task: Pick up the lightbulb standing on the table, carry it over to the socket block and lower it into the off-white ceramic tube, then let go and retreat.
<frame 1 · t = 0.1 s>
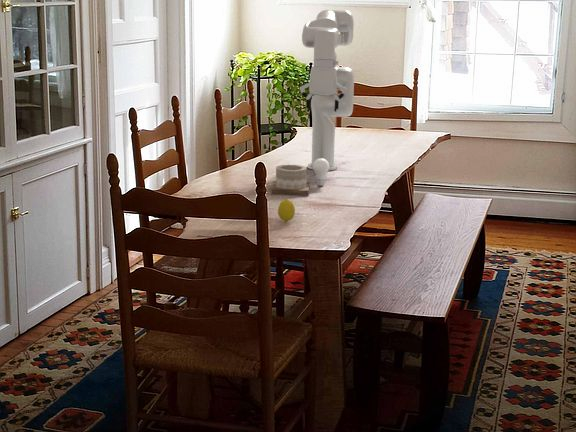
hand: (322, 110, 342), 31 cm above the table, tool pointing down, fingers open, 9 cm apart
lightbulb: (320, 186, 361), on the table
socket: (290, 191, 351), on the table
lemon: (286, 223, 308), on the table
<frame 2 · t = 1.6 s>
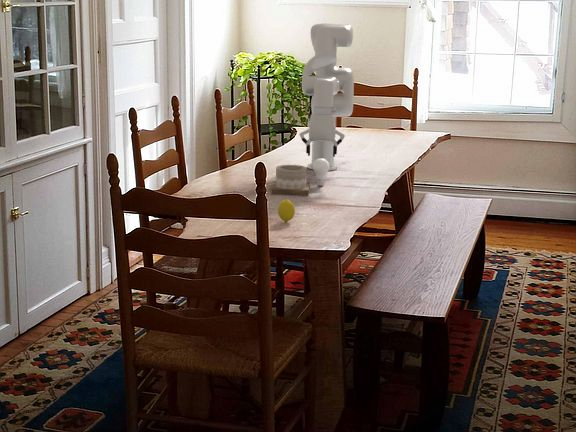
hand: (321, 155, 357), 12 cm above the table, tool pointing down, fingers open, 9 cm apart
nothing on the table moved.
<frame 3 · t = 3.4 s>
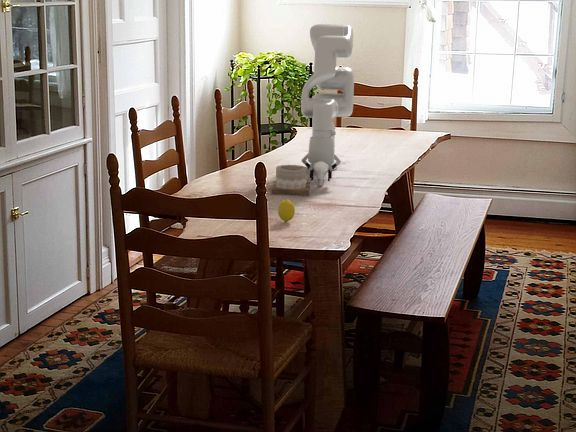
hand: (320, 179, 360), 3 cm above the table, tool pointing down, fingers closed on lightbulb, 5 cm apart
lightbulb: (320, 186, 361), on the table, touching gripper
everything else where it was.
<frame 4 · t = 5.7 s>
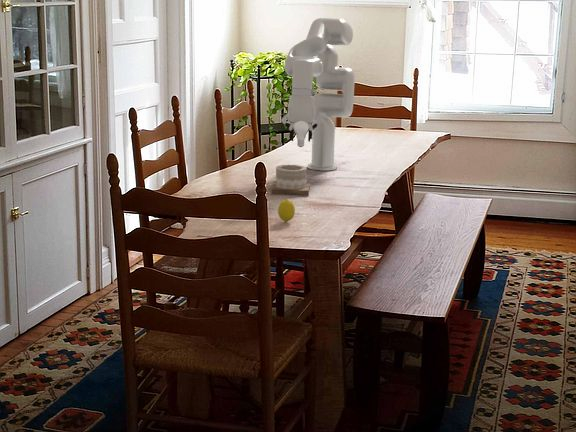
hand: (300, 140, 349), 19 cm above the table, tool pointing down, fingers closed on lightbulb, 5 cm apart
lightbulb: (300, 147, 349), point 16 cm above the table, touching gripper
everything else where it was.
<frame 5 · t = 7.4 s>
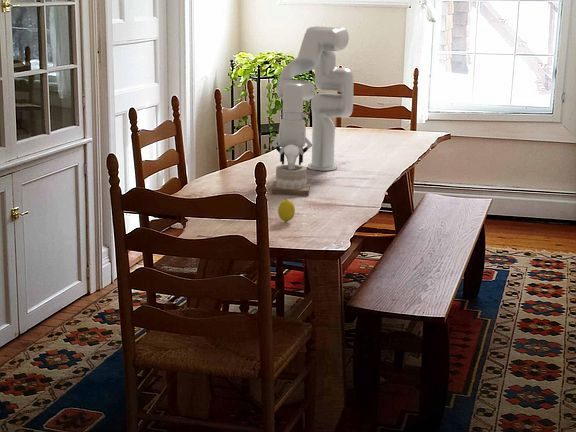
hand: (291, 163, 349), 11 cm above the table, tool pointing down, fingers closed on lightbulb, 5 cm apart
lightbulb: (291, 170, 349), point 8 cm above the table, touching gripper
everything else where it was.
when the fingers open (10 cm above the table, at t = 8.4 s): lightbulb drops 5 cm, resting on socket.
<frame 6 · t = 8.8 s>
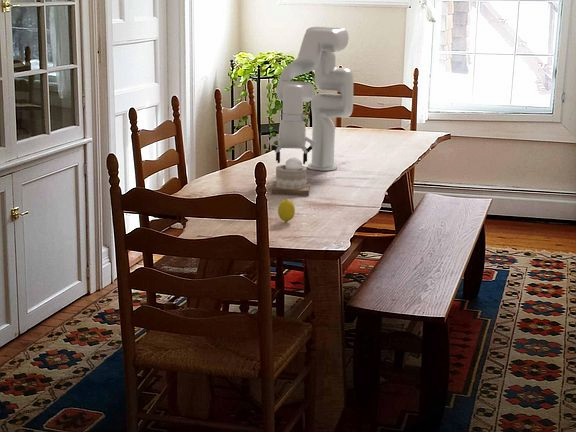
hand: (291, 163, 349), 11 cm above the table, tool pointing down, fingers open, 9 cm apart
lightbulb: (284, 184, 351), point 2 cm above the table, touching socket
everything else where it was.
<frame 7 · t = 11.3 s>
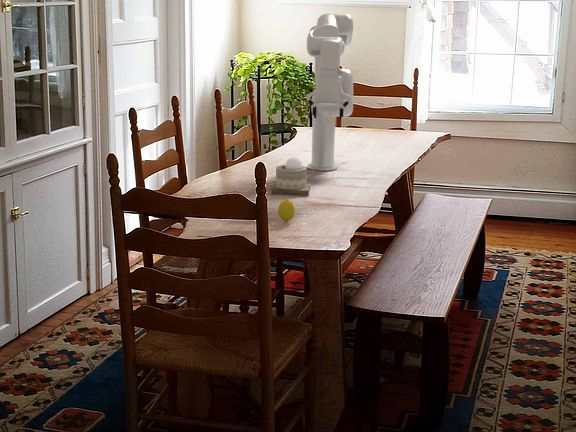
hand: (327, 117, 353), 27 cm above the table, tool pointing down, fingers open, 9 cm apart
nothing on the table moved.
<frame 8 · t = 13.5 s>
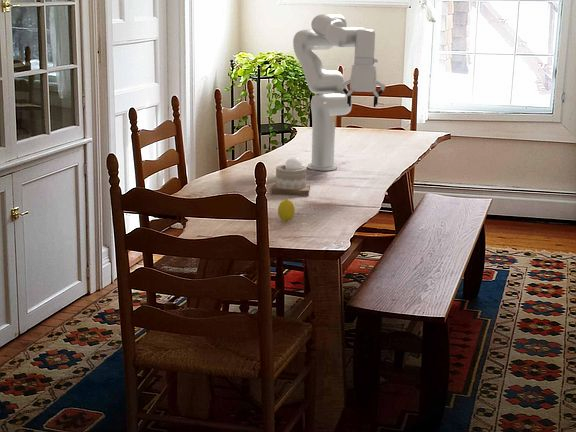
hand: (362, 106, 361), 30 cm above the table, tool pointing down, fingers open, 9 cm apart
nothing on the table moved.
at the end: lightbulb 2.3 cm from the socket (horizontally); lightbulb point 2.3 cm above the table; the gripper is holding nothing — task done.
